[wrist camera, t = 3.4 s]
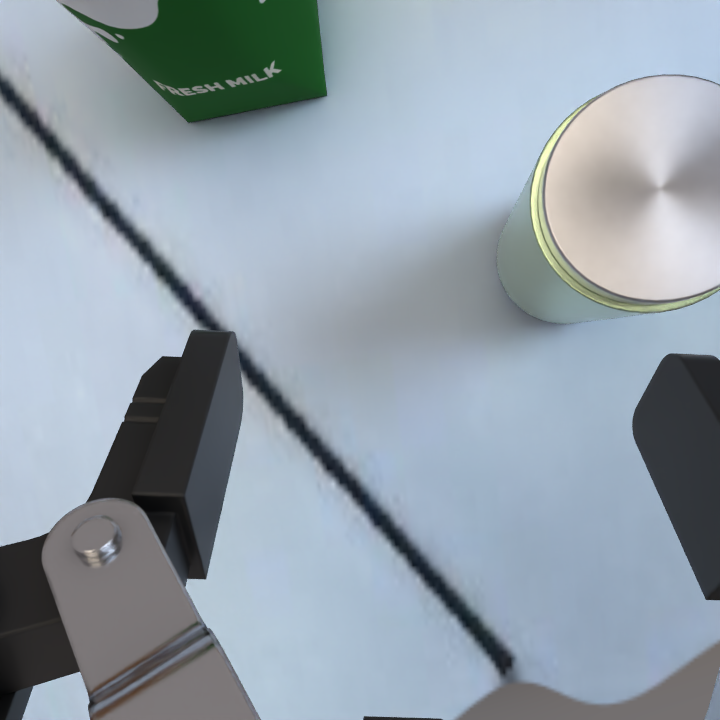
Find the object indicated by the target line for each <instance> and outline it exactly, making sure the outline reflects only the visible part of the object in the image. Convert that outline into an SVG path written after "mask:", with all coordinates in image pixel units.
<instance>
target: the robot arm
mask: <svg viewBox="0 0 720 720" xmlns="http://www.w3.org/2000/svg"><path fill="white" fill-rule="evenodd" d="M132 399H133V402H132V403H130V405H129V407H128V410H127V412H126V414H125V417H124V418H125V420H124V422H122V424H121V426H120V428H119V431H118V433H117V435H116V438H115V440H114V442H113V445H112V447H111V449H110V452H109V454H108V456H107V459H106V461H105V463H104V466H103V468H102V470H101V473H100V475H99V477H98V479H97V482H96V484H95V486H94V489H93V491H92V493H91V495H90V497H89V499H88V500H87V502H86V503H85V504H83V505H80V506H79V507H77V508H75V509H73V510H72V511H70V512H69V513H67V514H66V515H65V516H64V517H62V518H61V519H60V520H59V521H58V522H57V523H56V525H55V526H54V527H53V528H52V529H51V531H50V532H49V533H47V534H44V535H42V536H40V537H36V538H33V539H30V540H26V541H22V542H18V543H14V544H10V545H5V546H1V547H0V720H22V717H23V714H24V712H25V709H26V706H27V703H28V700H29V697H30V694H31V691H32V688H33V686H35V685H38V684H41V683H44V682H48V681H51V680H54V679H57V678H60V677H64V676H67V675H70V674H73V673H76V672H81V675H82V677H83V680H84V683H85V686H86V689H87V692H88V696H89V701H90V703H89V705H88V710H89V716H90V720H261V719H260V717H259V715H258V713H257V712H256V710H255V708H254V706H253V704H252V702H251V700H250V698H249V697H248V695H247V693H246V691H245V689H244V687H243V685H242V684H241V682H240V680H239V678H238V676H237V674H236V672H235V671H234V669H233V667H232V665H231V663H230V661H229V659H228V657H227V656H226V654H225V652H224V650H223V648H222V647H221V645H220V643H219V641H218V640H217V638H216V636H215V635H214V633H213V632H212V631H211V629H210V628H207V627H206V625H205V624H204V622H203V620H202V618H201V617H200V615H199V613H198V611H197V609H196V607H195V605H194V603H193V602H192V600H191V598H190V596H189V594H188V592H187V590H186V588H185V586H186V582H187V579H206V577H207V573H208V568H209V564H210V559H211V555H212V550H213V546H214V541H215V537H216V532H217V528H218V523H219V519H220V514H221V510H222V506H223V501H224V497H225V492H226V488H227V483H228V479H229V474H230V470H231V465H232V461H233V456H234V452H235V447H236V443H237V439H238V434H239V430H240V425H241V420H242V413H243V387H242V378H241V370H240V362H239V353H238V345H237V338H236V334H235V332H232V331H211V330H193V331H192V332H191V333H190V336H189V338H188V341H187V344H186V346H185V349H184V352H183V355H182V357H167V356H162V357H161V358H160V359H159V360H158V361H157V362H156V363H155V364H154V365H153V366H152V367H151V368H150V369H149V370H148V371H146V372H145V373H144V374H143V375H142V377H141V380H140V382H139V384H138V387H137V389H136V391H135V394H134V396H133V398H132ZM632 427H633V435H634V439H635V442H636V444H637V446H638V449H639V451H640V453H641V455H642V458H643V460H644V462H645V464H646V467H647V469H648V471H649V473H650V476H651V478H652V480H653V482H654V485H655V487H656V489H657V491H658V493H659V496H660V498H661V500H662V502H663V505H664V507H665V509H666V511H667V514H668V516H669V518H670V520H671V523H672V525H673V527H674V529H675V532H676V534H677V536H678V538H679V540H680V543H681V545H682V547H683V549H684V552H685V554H686V556H687V558H688V561H689V563H690V565H691V567H692V570H693V572H694V574H695V576H696V579H697V581H698V583H699V585H700V587H701V590H702V592H703V594H704V596H705V599H706V600H720V360H719V359H718V358H716V357H715V356H712V355H694V354H673V353H672V354H668V355H667V356H665V357H664V358H663V359H662V361H661V362H660V364H659V366H658V368H657V370H656V372H655V374H654V375H653V377H652V379H651V381H650V383H649V385H648V387H647V388H646V390H645V392H644V394H643V396H642V398H641V400H640V401H639V403H638V405H637V407H636V409H635V412H634V416H633V424H632ZM363 720H442V719H433V718H401V717H368V716H364V718H363ZM704 720H720V669H719V672H718V676H717V680H716V683H715V687H714V690H713V694H712V697H711V701H710V704H709V708H708V711H707V714H706V716H705V719H704Z"/></svg>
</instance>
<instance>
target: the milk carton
mask: <svg viewBox="0 0 720 720" xmlns="http://www.w3.org/2000/svg"><path fill="white" fill-rule="evenodd" d="M56 1H57V2H59V3H60V4H61V5H62V6H63V7H64V8H65V9H67V10H68V11H69V12H70V13H71V14H72V15H74V16H75V17H76V18H77V19H78V20H79V21H81V22H82V23H83V24H84V25H85V26H86V27H88V28H89V29H90V30H91V31H92V32H93V33H94V34H96V35H97V36H98V37H99V38H100V39H101V40H103V41H104V42H105V43H106V44H107V45H108V46H110V47H111V48H112V49H113V50H114V51H115V52H116V53H118V54H119V55H120V56H121V57H122V58H123V59H124V60H125V61H126V62H127V63H128V64H129V65H130V66H131V67H132V68H133V69H134V70H135V71H136V72H137V73H138V74H139V75H140V76H141V77H142V78H143V79H144V80H145V81H146V82H147V83H148V84H149V85H150V86H151V87H152V88H153V89H154V90H155V91H156V92H158V93H159V94H160V95H161V96H162V97H163V98H164V99H165V100H166V101H167V102H168V103H169V104H170V105H171V106H172V107H173V108H174V109H175V110H176V111H177V112H178V113H179V114H180V115H181V116H182V117H183V118H184V119H185V120H186V121H187V122H188V123H190V122H195V121H200V120H205V119H210V118H215V117H220V116H226V115H231V114H236V113H241V112H246V111H251V110H256V109H261V108H266V107H271V106H276V105H282V104H287V103H292V102H297V101H302V100H307V99H312V98H317V97H322V96H327V91H326V83H325V74H324V65H323V56H322V46H321V37H320V27H319V18H318V8H317V0H56Z"/></svg>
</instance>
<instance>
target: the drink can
mask: <svg viewBox="0 0 720 720" xmlns="http://www.w3.org/2000/svg"><path fill="white" fill-rule="evenodd" d="M496 259H497V269H498V275H499V278H500V281H501V283H502V285H503V287H504V290H505V291H506V293H507V294H508V296H509V297H510V298H511V300H512V301H513V302H514V303H515V304H516V305H517V306H518V307H519V308H521V309H522V310H523V311H525V312H526V313H528V314H529V315H531V316H533V317H535V318H537V319H540V320H543V321H546V322H551V323H558V324H571V323H580V322H588V321H596V320H604V319H612V318H620V317H628V316H636V315H644V314H652V313H660V312H665V311H671V310H677V309H680V308H683V307H686V306H689V305H693V304H695V303H697V302H699V301H701V300H704V299H706V298H708V297H709V296H711V295H713V294H714V293H716V292H718V291H719V290H720V85H719V84H717V83H715V82H712V81H709V80H706V79H702V78H698V77H693V76H686V75H655V76H647V77H643V78H639V79H635V80H631V81H628V82H626V83H623V84H620V85H618V86H615V87H614V88H612V89H610V90H608V91H606V92H604V93H602V94H600V95H598V96H596V97H594V98H592V99H590V100H589V101H587V102H586V103H584V104H583V105H581V106H580V107H579V108H577V109H576V110H575V111H574V112H573V113H571V114H570V115H569V116H568V117H567V118H566V119H565V120H564V121H563V122H562V123H561V124H560V126H559V127H558V128H557V129H556V130H555V131H554V133H553V134H552V136H551V137H550V139H549V140H548V141H547V143H546V145H545V147H544V149H543V150H542V152H541V154H540V156H539V158H538V160H537V162H536V164H535V166H534V168H533V170H532V172H531V174H530V176H529V178H528V180H527V182H526V184H525V186H524V188H523V190H522V192H521V194H520V196H519V198H518V200H517V202H516V204H515V206H514V208H513V210H512V212H511V214H510V216H509V218H508V220H507V222H506V224H505V226H504V228H503V230H502V233H501V236H500V238H499V242H498V247H497V256H496Z"/></svg>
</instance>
